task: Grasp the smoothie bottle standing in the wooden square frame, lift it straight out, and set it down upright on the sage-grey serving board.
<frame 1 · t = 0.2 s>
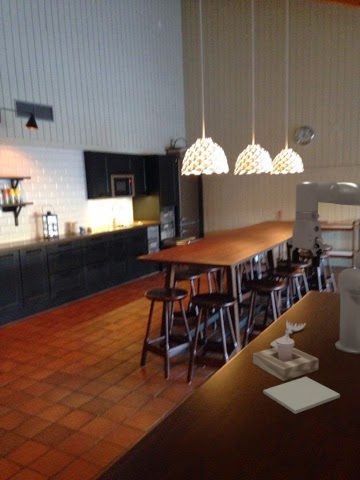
hand: (305, 265, 147), 36 cm above the table, tool pointing down, fingers open, 9 cm apart
serving board: (300, 395, 128), on the table
white long flared piece: (288, 339, 175), on the table
wooden square frame: (285, 366, 148), on the table
smoothie: (285, 367, 148), resting in wooden square frame
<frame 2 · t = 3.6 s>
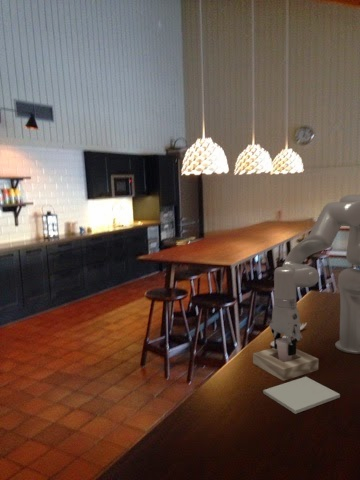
hand: (284, 351, 148), 6 cm above the table, tool pointing down, fingers closed on smoothie, 6 cm apart
smoothie: (285, 367, 148), resting in wooden square frame, touching gripper
everything else where it was.
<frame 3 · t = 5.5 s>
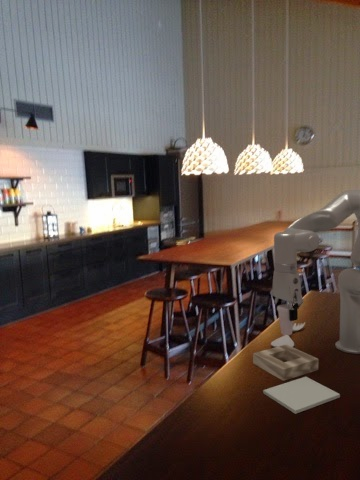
hand: (286, 317, 146), 18 cm above the table, tool pointing down, fingers closed on smoothie, 6 cm apart
smoothie: (286, 333, 147), point 12 cm above the table, touching gripper
everything else where it was.
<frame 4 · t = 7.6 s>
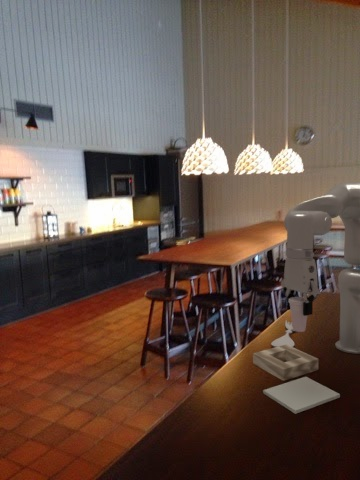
hand: (299, 311, 127), 26 cm above the table, tool pointing down, fingers closed on smoothie, 6 cm apart
smoothie: (299, 330, 128), point 20 cm above the table, touching gripper
everything else where it was.
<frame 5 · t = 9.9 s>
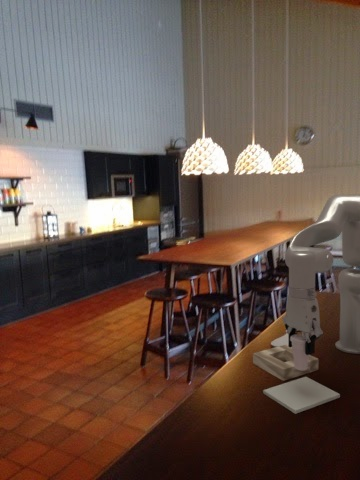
hand: (301, 349, 126), 15 cm above the table, tool pointing down, fingers closed on smoothie, 6 cm apart
smoothie: (301, 368, 127), point 9 cm above the table, touching gripper
everything else where it was.
when the fingers open (8 cm above the table, at t = 11.7 s): smoothie drops 1 cm, resting on serving board.
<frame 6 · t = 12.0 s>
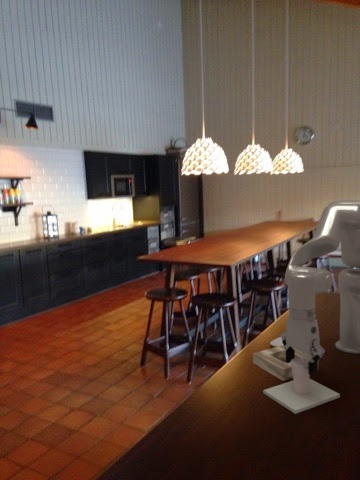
hand: (301, 367, 127), 9 cm above the table, tool pointing down, fingers open, 9 cm apart
smoothie: (300, 392, 128), point 1 cm above the table, touching serving board
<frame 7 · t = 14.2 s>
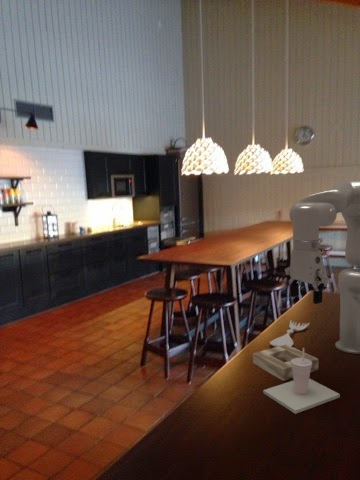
hand: (305, 299, 130), 29 cm above the table, tool pointing down, fingers open, 9 cm apart
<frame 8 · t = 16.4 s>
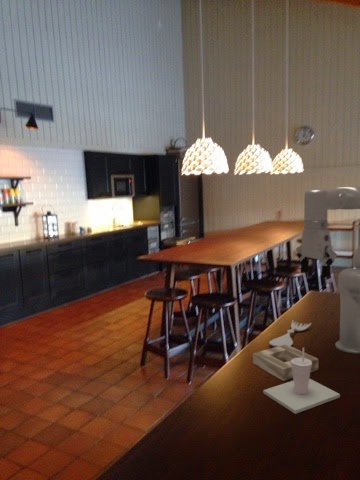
hand: (315, 274, 144), 33 cm above the table, tool pointing down, fingers open, 9 cm apart
at the end: smoothie inside the target area on the serving board (0.3 cm from its centre), point 0.8 cm above the serving board's base; smoothie tilted 1°; the gripper is holding nothing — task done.
